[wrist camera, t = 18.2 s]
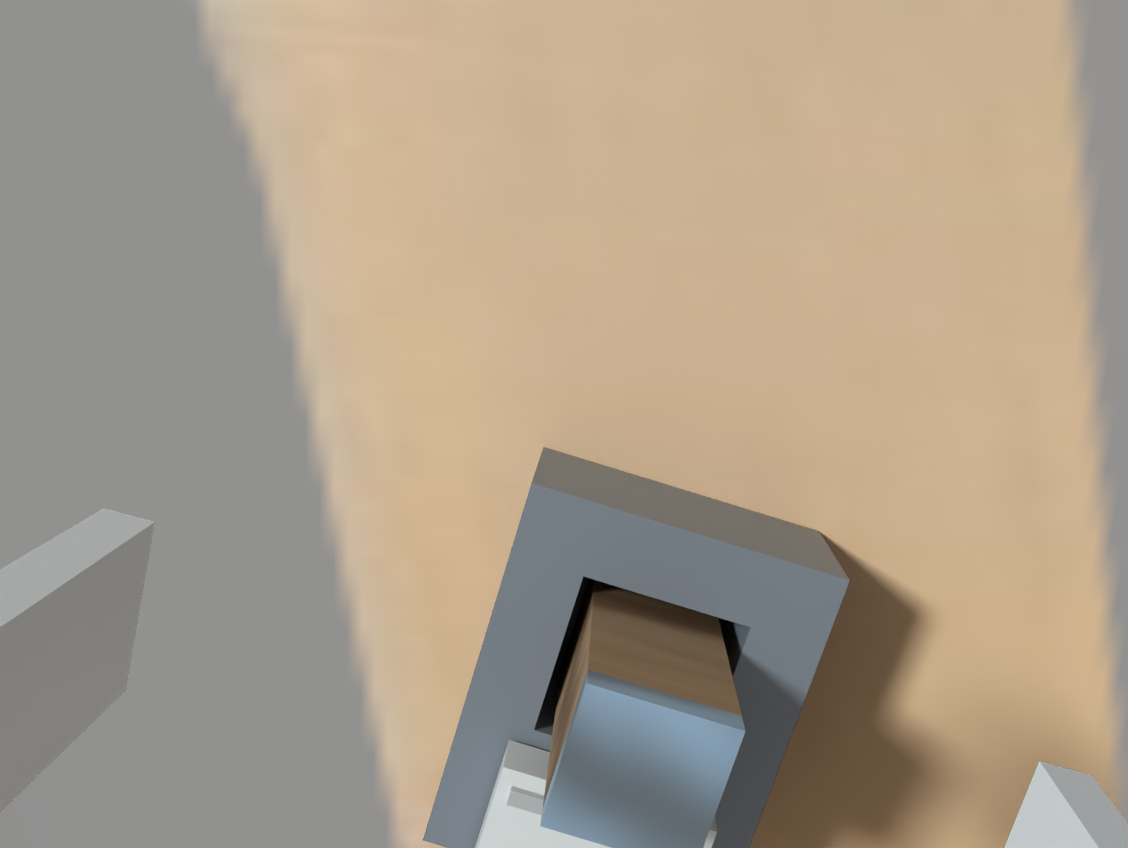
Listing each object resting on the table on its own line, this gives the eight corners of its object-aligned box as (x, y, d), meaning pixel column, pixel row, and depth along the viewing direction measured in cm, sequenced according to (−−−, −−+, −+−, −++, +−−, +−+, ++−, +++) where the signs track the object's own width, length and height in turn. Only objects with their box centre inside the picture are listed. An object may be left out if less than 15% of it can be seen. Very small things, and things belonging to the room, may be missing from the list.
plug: (596, 556, 44) (586, 683, 32) (712, 591, 44) (745, 731, 32) (561, 664, 45) (540, 826, 33) (674, 699, 45) (693, 872, 33)
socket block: (543, 447, 44) (531, 483, 38) (819, 531, 44) (850, 580, 38) (447, 761, 47) (422, 840, 41) (705, 839, 47) (717, 929, 41)
